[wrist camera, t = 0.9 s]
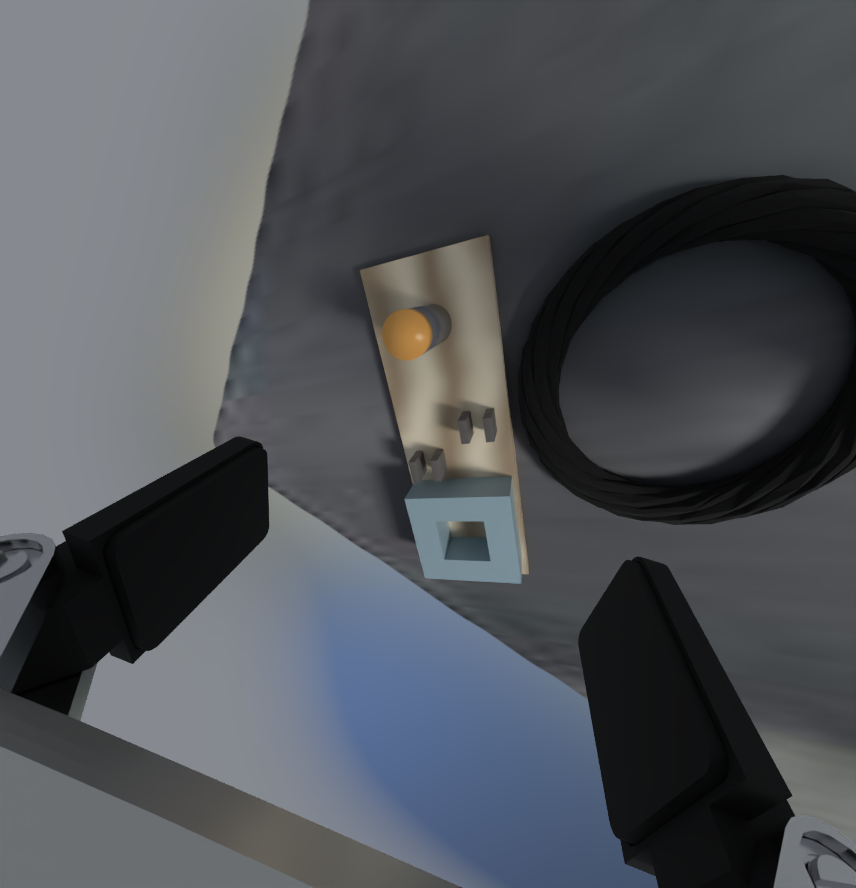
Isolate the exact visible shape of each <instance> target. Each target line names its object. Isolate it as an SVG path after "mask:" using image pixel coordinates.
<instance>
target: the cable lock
mask: <svg viewBox="0 0 856 888" xmlns="http://www.w3.org/2000/svg"><path fill="white" fill-rule="evenodd" d="M731 240H766V241H769V242H772V243H775V244H778V245H781V246H784V247H786V248H789V249H792V250H795V251H798V252H801V253H804V254H807V255H810V256H812V257H814V258H815V259H816V260H817V261H818V262H819V263H820V264H821V265H822V266H823V267H824V268H825V269H826V270H827V271H828V272H829V273H830V274H831V275H832V276H833V277H834V278H836V279H837V280H838V281H839V282H840V283H841V284H842V285H843V286H844V288H845V291H846V294H847V297H848V299H849V302H850V305H851V307H852V310H853V313H854V318H855V324H856V192H855V191H853V190H851V189H849V188H847V187H845V186H843V185H840V184H838V183H836V182H834V181H831V180H829V179H796V178H792V177H788V176H785V175H778V176H764V177H750V178H742V179H737V180H733V181H728V182H724V183H720V184H715V185H711V186H707V187H701V188H696V189H693V190H691V191H688V192H686V193H683V194H681V195H678V196H676V197H673V198H671V199H668V200H666V201H663V202H661V203H659V204H657V205H655V206H653V207H652V208H650V209H648V210H646V211H644V212H643V213H641V214H639V215H637V216H635V217H634V218H632V219H630V220H628V221H626V222H624V223H622V224H621V225H619V226H618V227H616V228H615V229H614V230H612V231H611V232H610V233H608V234H607V235H605V236H604V237H603V238H601V239H600V240H599V241H597V242H596V243H594V244H593V245H592V246H591V247H590V248H589V249H588V250H587V251H586V252H585V253H584V254H583V255H582V256H581V257H580V258H579V259H578V260H577V261H576V262H575V263H574V264H573V266H572V267H571V268H570V269H569V270H568V271H567V272H566V273H565V275H564V276H563V277H562V279H561V280H560V281H559V282H558V284H557V285H556V286H555V288H554V289H553V290H552V291H551V293H550V294H549V295H548V297H547V298H546V300H545V302H544V303H543V305H542V307H541V309H540V311H539V313H538V314H537V316H536V318H535V320H534V322H533V324H532V327H531V330H530V334H529V337H528V339H527V342H526V344H525V347H524V349H523V353H522V358H521V363H520V368H519V373H518V390H519V404H520V410H521V417H522V423H523V425H524V428H525V431H526V434H527V437H528V439H529V442H530V445H531V446H532V448H533V449H534V450H535V452H536V453H537V454H538V456H539V458H540V460H541V462H542V463H543V465H544V466H545V467H546V468H547V469H548V470H549V472H550V473H551V474H552V475H553V476H554V478H555V479H556V480H557V481H559V482H560V483H561V484H562V485H563V486H565V487H566V488H567V489H568V490H569V491H571V492H572V493H573V494H574V495H576V496H577V497H579V498H581V499H583V500H585V501H587V502H589V503H591V504H593V505H595V506H597V507H599V508H603V509H605V510H607V511H609V512H611V513H613V514H615V515H617V516H622V517H627V518H632V519H636V520H641V521H655V522H663V523H668V524H673V525H685V524H714V523H718V522H722V521H726V520H731V519H735V518H743V517H747V516H751V515H755V514H759V513H763V512H767V511H770V510H774V509H778V508H782V507H784V506H786V505H788V504H790V503H792V502H794V501H795V500H797V499H799V498H801V497H803V496H805V495H806V494H808V493H810V492H812V491H814V490H817V489H819V488H821V487H823V486H824V485H826V484H828V483H830V482H832V481H833V480H835V479H837V478H839V477H840V476H842V475H844V474H845V473H847V472H849V471H851V470H852V469H854V468H855V467H856V344H855V351H854V358H853V362H852V365H851V369H850V372H849V375H848V379H847V381H846V382H845V384H844V386H843V388H842V389H841V391H840V393H839V395H838V396H837V398H836V400H835V402H834V403H833V405H832V406H831V408H830V409H829V410H828V411H827V413H826V414H825V415H824V416H823V418H822V419H821V420H820V421H819V423H818V424H817V425H816V426H815V427H814V428H813V429H811V430H810V431H809V432H808V433H807V434H806V435H804V436H803V437H802V438H801V439H800V440H799V441H797V442H796V443H795V444H794V445H793V446H792V447H790V448H789V449H788V450H786V451H785V452H783V453H782V454H780V455H779V456H777V457H776V458H774V459H773V460H771V461H769V462H767V463H765V464H763V465H761V466H758V467H756V468H754V469H752V470H749V471H747V472H745V473H743V474H740V475H738V476H735V477H731V478H728V479H725V480H721V481H718V482H715V483H709V484H701V485H694V486H687V487H655V486H649V485H642V484H638V483H635V482H632V481H629V480H626V479H623V478H621V477H618V476H615V475H612V474H609V473H606V472H605V471H603V470H602V469H601V468H599V467H598V466H597V465H596V464H594V463H593V462H592V461H591V460H589V459H588V458H587V457H586V456H585V455H584V453H583V452H582V451H581V450H580V449H579V448H578V447H577V446H576V445H575V444H574V443H573V442H572V441H571V439H570V438H569V436H568V433H567V429H566V426H565V422H564V419H563V416H562V412H561V409H560V406H559V391H558V389H559V382H560V374H561V368H562V365H563V362H564V359H565V356H566V353H567V350H568V347H569V344H570V341H571V339H572V337H573V335H574V334H575V332H576V331H577V330H578V328H579V327H580V325H581V324H582V322H583V321H584V320H585V319H586V317H587V316H588V315H589V314H590V312H591V311H592V310H593V309H594V307H595V306H596V305H597V304H598V302H599V301H600V300H601V299H602V298H603V297H604V296H606V295H607V294H608V293H609V292H611V291H612V290H613V289H614V288H616V287H617V286H618V285H619V284H621V283H622V282H623V281H624V280H625V279H627V278H628V277H629V276H630V275H632V274H634V273H636V272H637V271H639V270H641V269H642V268H644V267H646V266H648V265H649V264H651V263H653V262H654V261H656V260H658V259H660V258H663V257H665V256H668V255H670V254H673V253H676V252H678V251H681V250H684V249H688V248H692V247H696V246H700V245H703V244H707V243H712V242H720V241H731Z"/></svg>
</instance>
